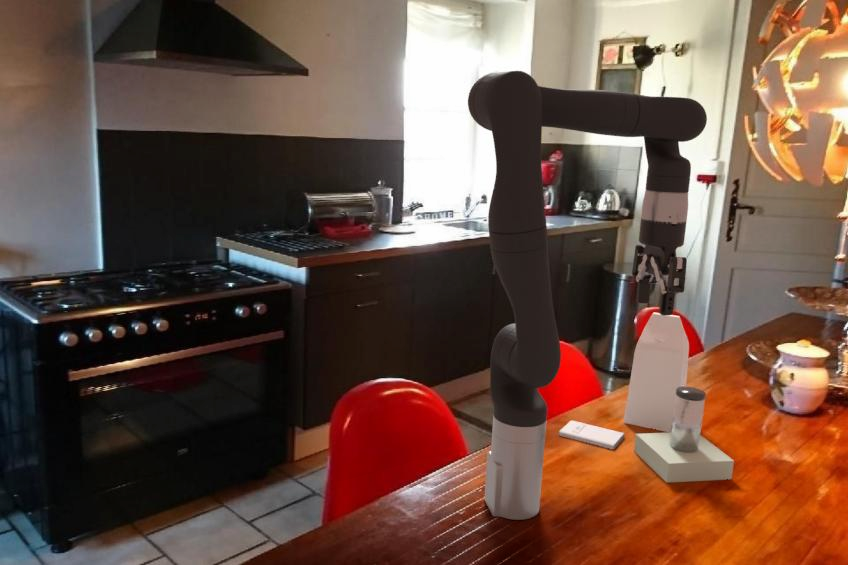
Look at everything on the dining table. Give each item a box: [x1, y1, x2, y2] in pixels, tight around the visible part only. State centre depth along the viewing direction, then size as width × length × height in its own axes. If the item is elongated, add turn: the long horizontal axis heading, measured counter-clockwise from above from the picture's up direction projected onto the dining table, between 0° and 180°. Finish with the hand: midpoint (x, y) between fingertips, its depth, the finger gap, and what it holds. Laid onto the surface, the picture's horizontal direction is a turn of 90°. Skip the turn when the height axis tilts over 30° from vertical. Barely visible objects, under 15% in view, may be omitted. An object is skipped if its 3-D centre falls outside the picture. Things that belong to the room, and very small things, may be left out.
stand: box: [633, 432, 735, 483], centre depth 147 cm, size 14×14×4 cm
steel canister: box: [669, 386, 706, 453], centre depth 145 cm, size 6×6×12 cm
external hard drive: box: [558, 420, 625, 450], centre depth 159 cm, size 2×8×12 cm
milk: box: [623, 311, 690, 433], centre depth 168 cm, size 12×12×26 cm
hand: (653, 308), depth 126 cm, fingers open, 8 cm apart
